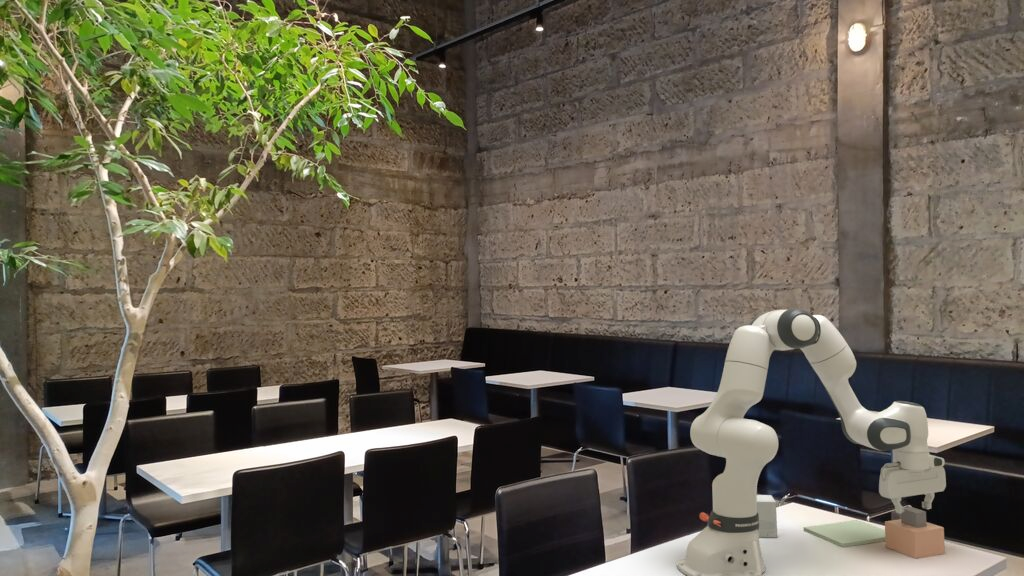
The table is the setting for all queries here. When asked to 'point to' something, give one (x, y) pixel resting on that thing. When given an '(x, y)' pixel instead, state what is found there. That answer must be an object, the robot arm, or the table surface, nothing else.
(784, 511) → the table surface
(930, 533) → the peach base with post
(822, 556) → the table surface
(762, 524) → the small box
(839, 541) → the sage board
